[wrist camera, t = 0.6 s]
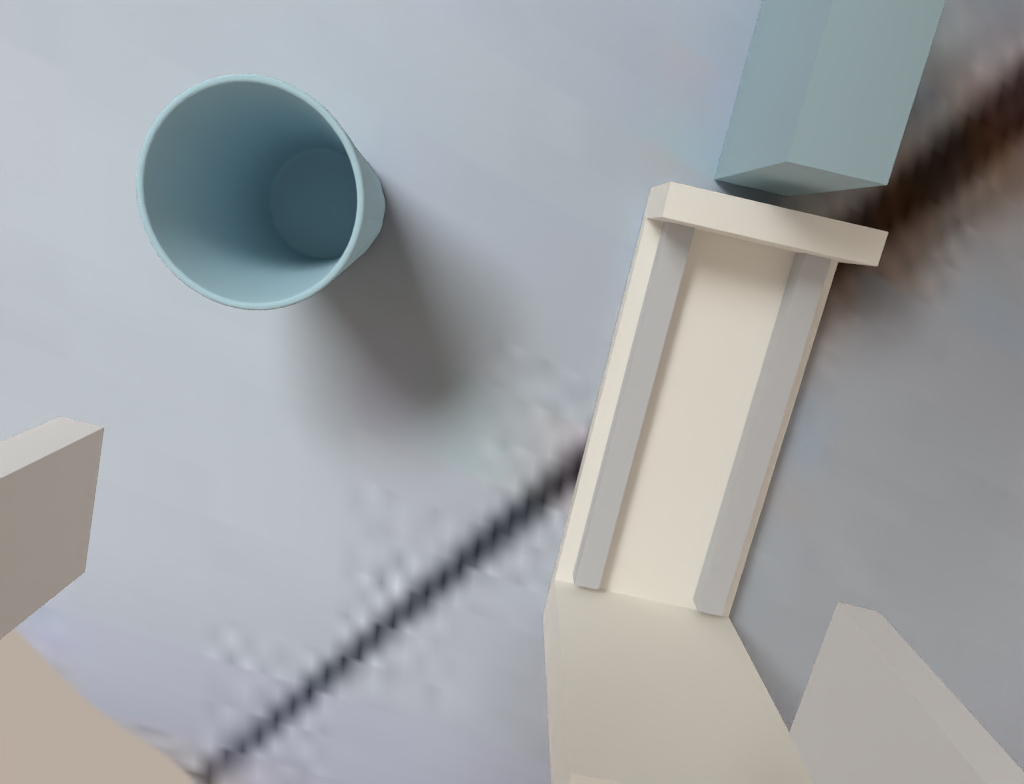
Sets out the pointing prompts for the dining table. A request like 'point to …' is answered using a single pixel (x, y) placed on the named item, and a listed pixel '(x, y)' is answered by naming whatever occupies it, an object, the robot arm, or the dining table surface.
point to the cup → (255, 192)
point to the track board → (685, 495)
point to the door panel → (826, 94)
